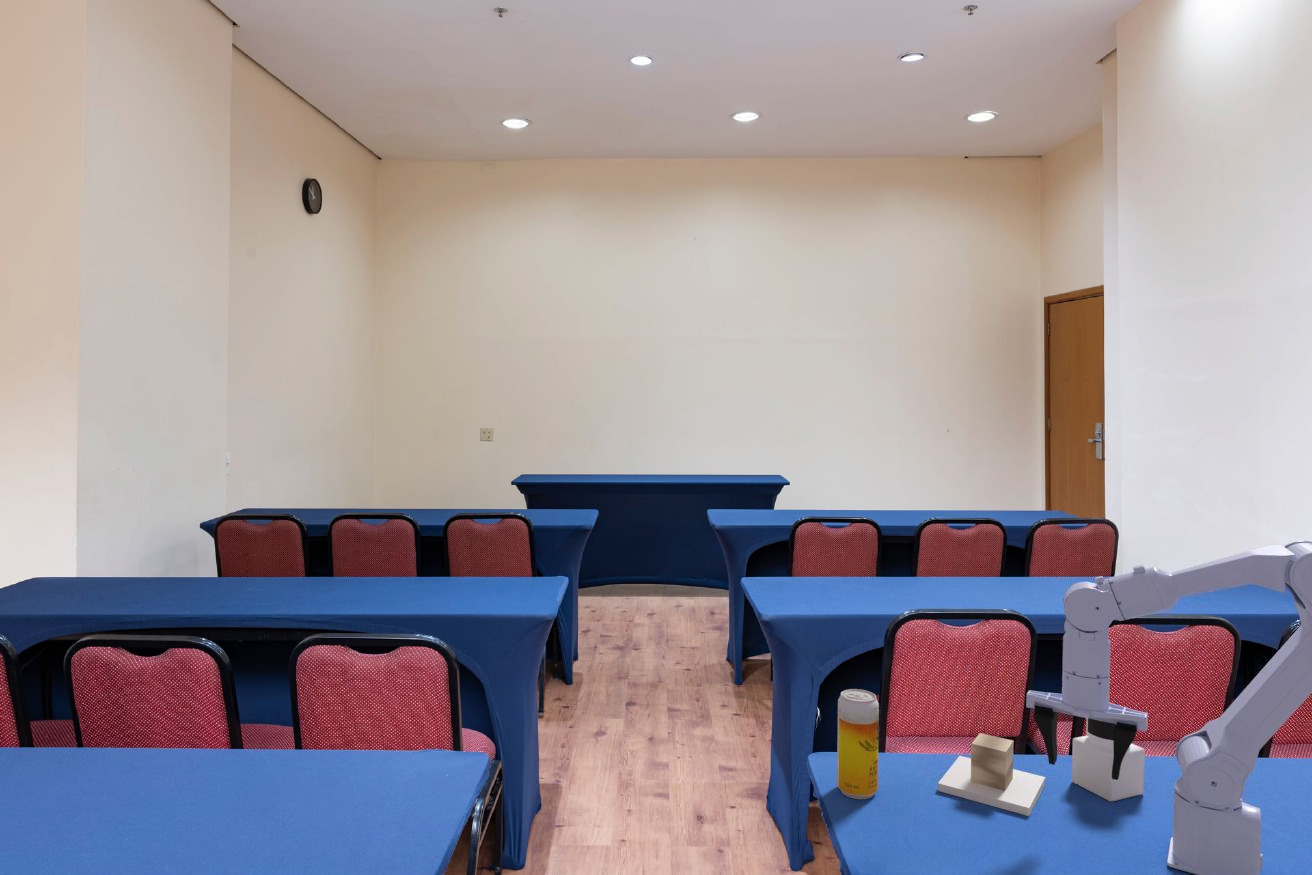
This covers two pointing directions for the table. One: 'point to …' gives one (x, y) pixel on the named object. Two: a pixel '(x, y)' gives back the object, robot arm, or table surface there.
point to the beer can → (857, 743)
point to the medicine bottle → (1106, 764)
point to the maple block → (992, 761)
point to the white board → (1014, 798)
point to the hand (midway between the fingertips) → (1083, 769)
